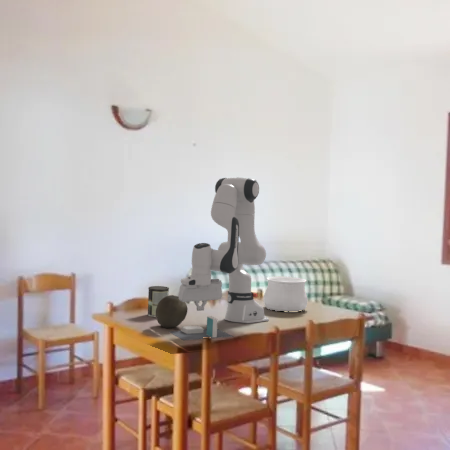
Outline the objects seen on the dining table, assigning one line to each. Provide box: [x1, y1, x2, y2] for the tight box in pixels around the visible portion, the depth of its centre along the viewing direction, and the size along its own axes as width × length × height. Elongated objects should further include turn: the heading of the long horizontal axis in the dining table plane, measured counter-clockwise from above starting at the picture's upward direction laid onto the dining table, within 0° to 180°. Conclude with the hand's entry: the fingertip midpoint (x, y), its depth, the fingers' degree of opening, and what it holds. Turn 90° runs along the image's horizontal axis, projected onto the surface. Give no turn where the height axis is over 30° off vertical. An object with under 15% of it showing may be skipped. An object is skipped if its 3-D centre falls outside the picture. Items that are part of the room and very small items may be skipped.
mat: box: [168, 328, 234, 341], centre depth 280 cm, size 24×17×1 cm
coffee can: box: [147, 285, 170, 318], centre depth 320 cm, size 10×10×14 cm
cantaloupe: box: [155, 294, 189, 329], centre depth 292 cm, size 14×14×15 cm
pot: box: [263, 276, 308, 312], centre depth 353 cm, size 26×24×17 cm
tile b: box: [206, 315, 218, 337], centre depth 277 cm, size 2×6×8 cm, turn 28°
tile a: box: [180, 325, 204, 334], centre depth 283 cm, size 2×6×8 cm
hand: (200, 310), depth 284 cm, fingers closed
